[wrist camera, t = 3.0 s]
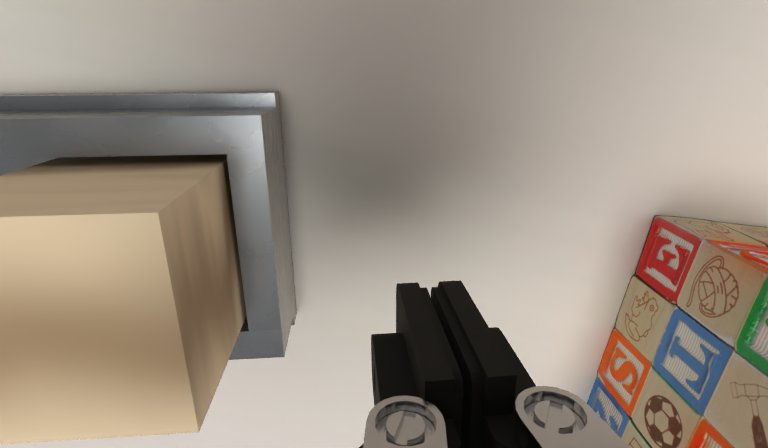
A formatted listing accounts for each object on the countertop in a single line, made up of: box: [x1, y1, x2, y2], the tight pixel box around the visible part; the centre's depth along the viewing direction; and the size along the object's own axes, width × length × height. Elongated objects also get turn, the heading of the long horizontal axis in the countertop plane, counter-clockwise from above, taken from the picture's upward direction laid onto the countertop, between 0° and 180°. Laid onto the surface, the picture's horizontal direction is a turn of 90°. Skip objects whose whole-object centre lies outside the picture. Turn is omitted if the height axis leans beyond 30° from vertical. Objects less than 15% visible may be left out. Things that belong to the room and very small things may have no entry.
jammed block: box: [0, 154, 247, 444], centre depth 14 cm, size 6×6×8 cm
